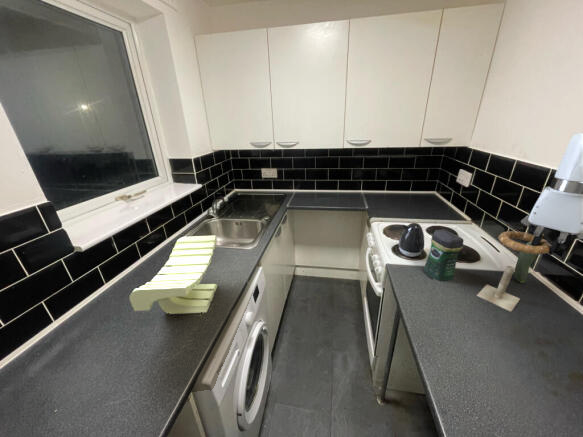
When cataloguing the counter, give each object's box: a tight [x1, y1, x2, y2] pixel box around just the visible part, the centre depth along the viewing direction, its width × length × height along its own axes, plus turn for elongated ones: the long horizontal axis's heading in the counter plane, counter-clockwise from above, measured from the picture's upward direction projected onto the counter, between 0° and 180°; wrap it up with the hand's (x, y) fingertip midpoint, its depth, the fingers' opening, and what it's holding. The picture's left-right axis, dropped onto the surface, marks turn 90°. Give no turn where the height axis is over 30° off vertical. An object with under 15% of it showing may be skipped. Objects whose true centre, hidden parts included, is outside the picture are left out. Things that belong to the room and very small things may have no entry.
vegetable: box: [513, 233, 545, 284], centre depth 81 cm, size 4×4×20 cm
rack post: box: [476, 265, 521, 313], centre depth 74 cm, size 9×9×13 cm
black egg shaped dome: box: [397, 222, 425, 258], centre depth 101 cm, size 10×10×15 cm
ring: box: [497, 230, 552, 255], centre depth 66 cm, size 11×11×2 cm
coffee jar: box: [423, 228, 464, 282], centre depth 86 cm, size 10×8×19 cm
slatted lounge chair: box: [129, 234, 218, 315], centre depth 80 cm, size 30×16×18 cm, turn 1°
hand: (542, 250), depth 63 cm, fingers closed on ring, 2 cm apart
